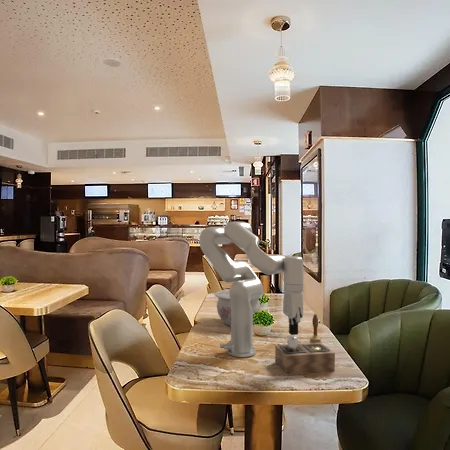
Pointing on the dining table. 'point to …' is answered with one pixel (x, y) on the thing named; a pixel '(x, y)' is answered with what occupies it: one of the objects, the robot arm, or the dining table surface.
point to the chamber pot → (225, 305)
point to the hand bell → (315, 331)
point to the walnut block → (305, 359)
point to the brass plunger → (315, 348)
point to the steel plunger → (292, 344)
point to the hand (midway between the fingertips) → (293, 334)
